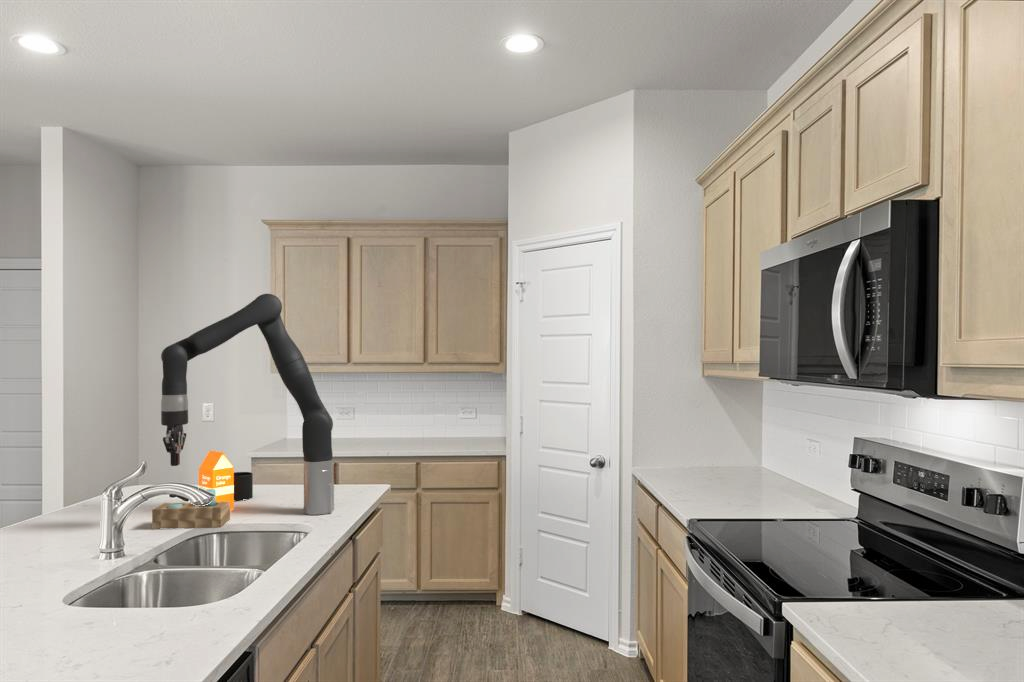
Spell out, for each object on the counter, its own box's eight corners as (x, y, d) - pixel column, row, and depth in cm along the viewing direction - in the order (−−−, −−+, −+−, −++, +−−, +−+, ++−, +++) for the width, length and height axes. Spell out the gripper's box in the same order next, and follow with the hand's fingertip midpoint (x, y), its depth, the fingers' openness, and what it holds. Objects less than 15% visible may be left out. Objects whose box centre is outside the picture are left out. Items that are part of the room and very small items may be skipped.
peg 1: (184, 521, 219) (184, 503, 219) (179, 524, 215) (179, 506, 215) (171, 522, 219) (171, 503, 219) (165, 525, 215) (165, 506, 215)
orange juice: (212, 514, 231) (212, 453, 231) (198, 511, 236) (198, 451, 237) (234, 510, 237) (234, 451, 238) (220, 507, 243) (219, 449, 243)
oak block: (230, 520, 223) (229, 501, 223) (220, 527, 214) (220, 507, 214) (164, 522, 221) (164, 503, 221) (152, 529, 212) (152, 509, 212)
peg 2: (217, 507, 220) (217, 488, 220) (213, 509, 216) (213, 491, 216) (204, 507, 220) (204, 489, 220) (199, 510, 216) (199, 491, 216)
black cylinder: (261, 495, 263) (261, 471, 263) (242, 502, 251) (242, 476, 251) (239, 494, 265) (239, 470, 265) (219, 501, 253) (219, 475, 253)
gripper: (179, 410, 211) (179, 468, 211) (194, 407, 224) (195, 461, 224) (153, 411, 211) (153, 469, 210) (170, 408, 224) (171, 462, 223)
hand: (175, 465), depth 217 cm, fingers closed
